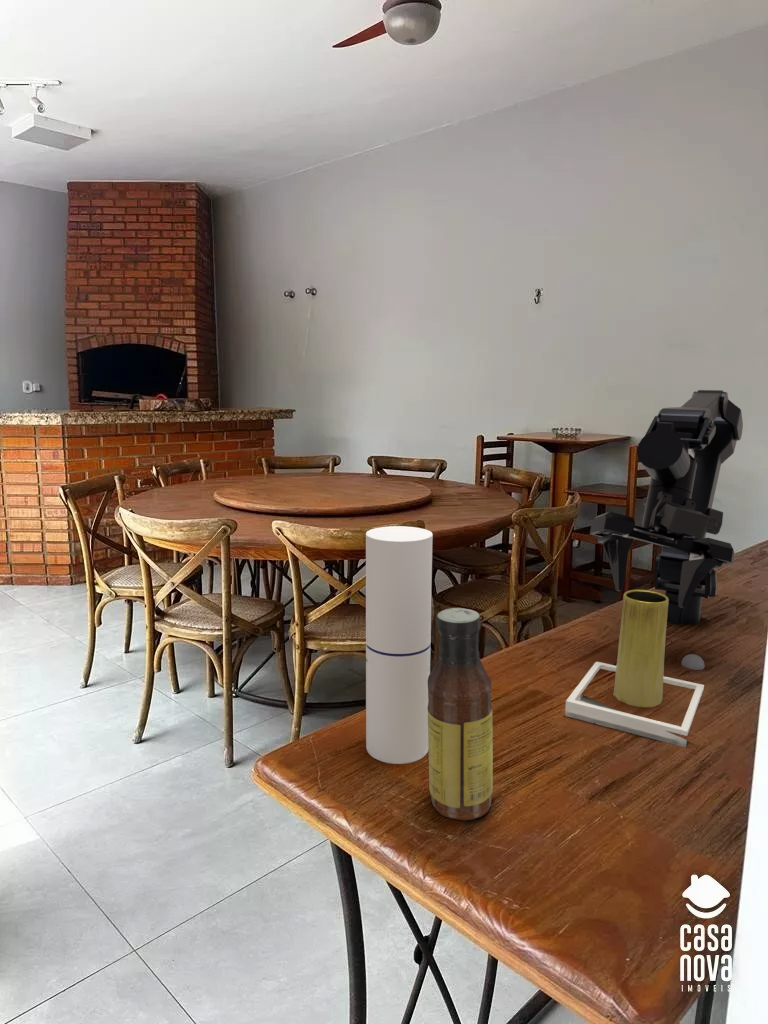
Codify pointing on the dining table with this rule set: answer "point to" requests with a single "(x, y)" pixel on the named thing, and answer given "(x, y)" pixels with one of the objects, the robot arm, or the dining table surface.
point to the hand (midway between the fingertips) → (650, 599)
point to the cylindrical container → (398, 642)
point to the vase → (641, 648)
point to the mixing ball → (693, 662)
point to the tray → (616, 719)
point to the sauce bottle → (460, 720)
